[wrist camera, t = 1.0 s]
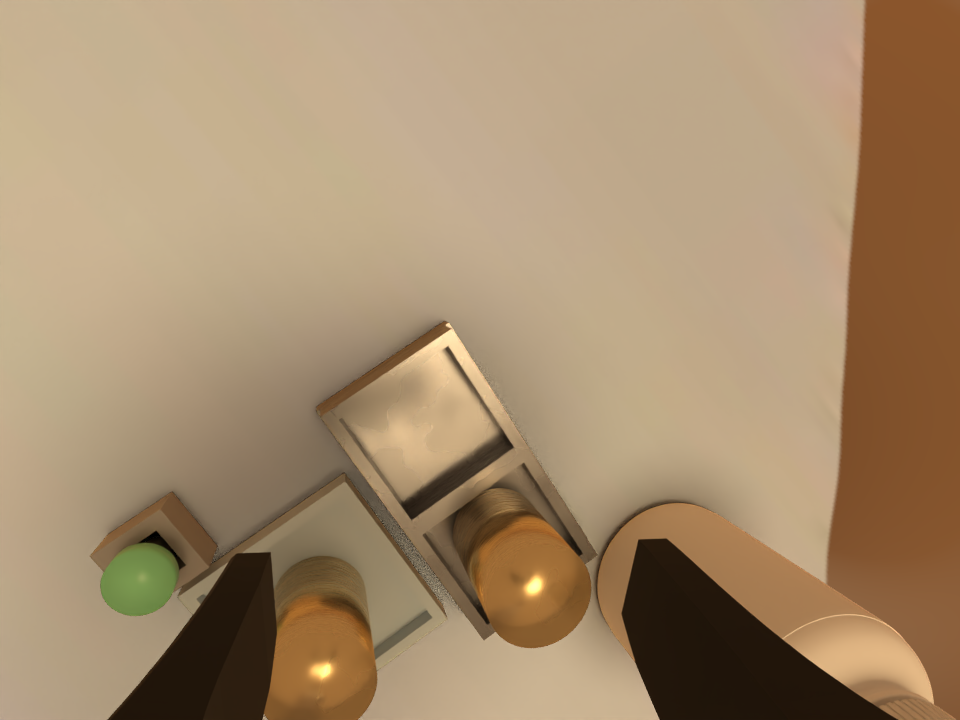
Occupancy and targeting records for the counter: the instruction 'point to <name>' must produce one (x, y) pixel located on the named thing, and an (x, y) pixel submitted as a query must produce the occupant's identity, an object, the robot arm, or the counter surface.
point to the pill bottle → (778, 606)
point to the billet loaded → (520, 569)
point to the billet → (321, 644)
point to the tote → (355, 539)
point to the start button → (140, 578)
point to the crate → (440, 452)
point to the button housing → (173, 528)
